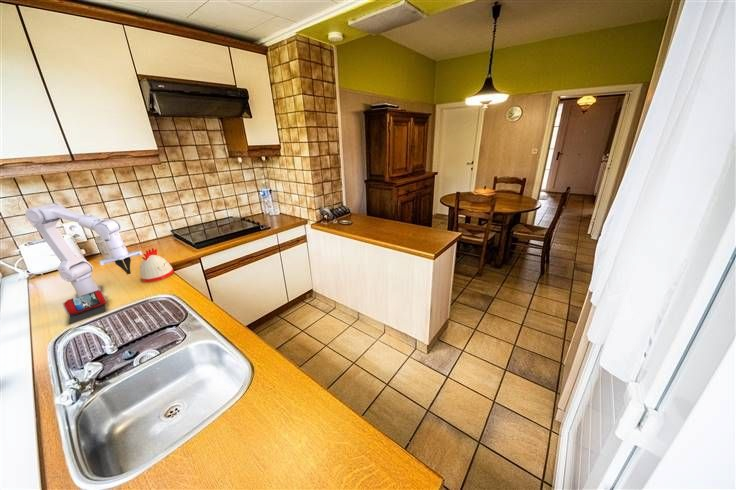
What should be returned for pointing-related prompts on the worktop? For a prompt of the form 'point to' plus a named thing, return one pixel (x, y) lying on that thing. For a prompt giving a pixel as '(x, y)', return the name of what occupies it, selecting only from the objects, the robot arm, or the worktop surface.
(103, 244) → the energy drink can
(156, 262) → the kitchen timer
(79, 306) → the beverage can
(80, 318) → the rubber mat
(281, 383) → the worktop surface
